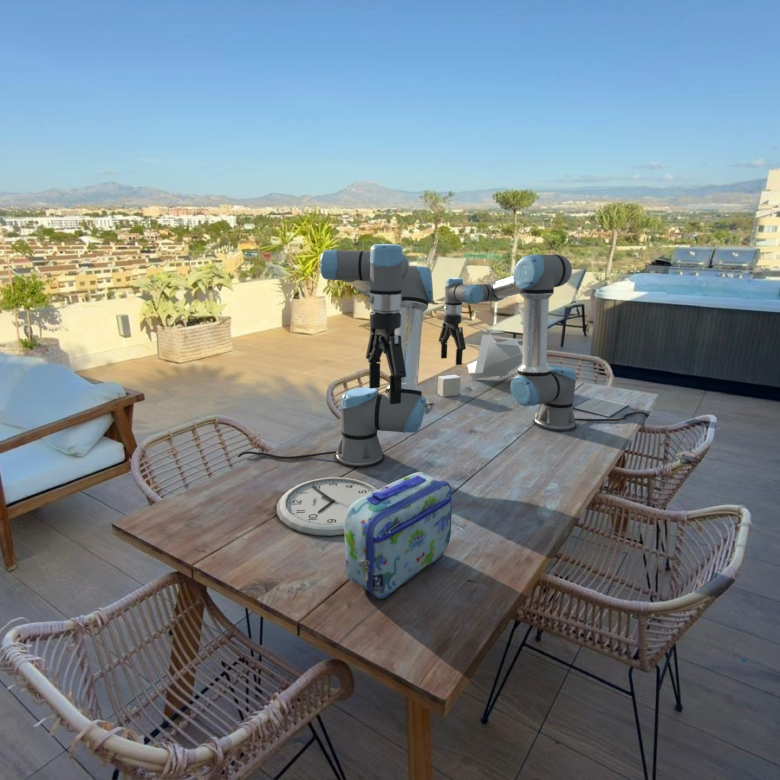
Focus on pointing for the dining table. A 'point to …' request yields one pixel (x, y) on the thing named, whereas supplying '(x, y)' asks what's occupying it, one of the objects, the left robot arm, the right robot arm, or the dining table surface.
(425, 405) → the fork
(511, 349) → the white plastic object
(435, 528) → the lunch box
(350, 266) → the left robot arm
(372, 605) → the dining table surface
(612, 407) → the invitation card
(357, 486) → the wall clock
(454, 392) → the block
